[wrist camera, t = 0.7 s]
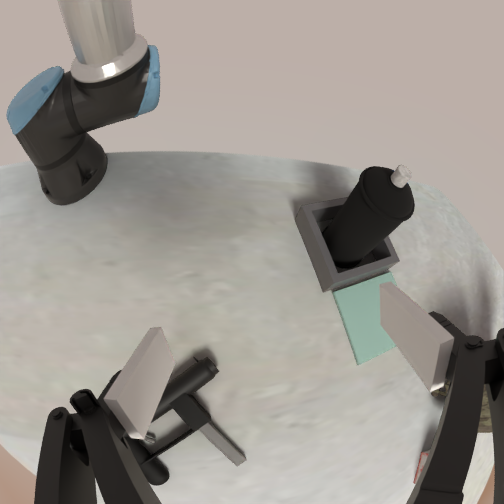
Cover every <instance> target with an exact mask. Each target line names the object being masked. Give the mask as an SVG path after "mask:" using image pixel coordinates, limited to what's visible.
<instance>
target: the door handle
mask: <svg viewBox="0 0 504 504" xmlns="http://www.w3.org/2000/svg"><path fill="white" fill-rule="evenodd" d="M194 359H195V360H196V358H195V357H194ZM196 361H197V360H196ZM218 372H219V370H218V369H217V368H216V367H215V365H214V364H213V363H212V362H211V361H210V360H209V359H208V357H207V358H205V359H204V360H200V361H197V363H196V364H194V365H193V366H192V367H190V368H189V369H188V370H186V371H185V372H184V373H182V374H181V375H180V376H178V377H177V378H176V379H174V380H173V381H172V382H170V383H169V384H167V385H166V387H165V390H164V392H163V394H162V397H161V399H160V402H159V404H158V406H157V409H156V411H155V414H154V416H153V419H152V421H151V423H152V422H153V421H155V420H156V419H158V418H159V417H161V416H162V415H164V414H165V413H167V412H168V411H169V410H171V409H172V408H173V409H174V410H175V411H176V413H177V414H178V415H179V416H180V417H181V418H182V419H183V420H184V421H185V423H186V424H187V425H188V426H189V427H190V428H191V429H190V430H189V431H187V432H186V433H184V434H183V435H181V436H180V437H178V438H177V439H175V440H174V441H172V442H171V443H169V444H168V445H166V446H165V447H163V448H161V449H160V450H158V451H157V452H155V453H153V454H152V455H151V454H150V453H149V452H148V451H147V450H146V449H145V448H144V447H143V446H142V445H141V444H140V442H139V441H138V440H137V439H135V438H131V437H130V436H129V435H128V433H127V432H126V431H125V433H124V435H123V437H124V438H125V439H126V441H127V443H128V445H129V447H130V449H131V451H132V453H133V455H134V457H135V459H136V461H137V463H138V465H139V467H140V468H141V470H142V472H143V474H144V476H145V477H146V479H147V481H148V482H149V483H150V484H152V485H162V484H164V483H165V482H167V480H168V479H169V473H168V471H167V470H165V469H164V468H163V467H162V466H161V465H160V464H159V463H158V462H157V461H156V460H155V459H154V458H155V457H157V456H158V455H160V454H162V453H163V452H165V451H166V450H168V449H170V448H171V447H173V446H174V445H176V444H177V443H179V442H180V441H182V440H183V439H185V438H186V437H188V436H189V435H191V434H192V433H194V432H195V431H197V430H198V429H199V430H200V431H201V432H202V433H203V434H204V435H205V436H206V437H207V438H208V439H209V440H210V441H211V442H212V443H213V444H214V445H215V446H216V447H217V448H218V449H219V450H220V451H221V452H222V453H223V454H224V455H225V456H226V457H227V458H228V459H230V460H231V461H232V462H233V463H234V464H235V465H236V466H239V465H240V464H242V463H243V462H244V461H246V457H245V456H244V455H243V454H242V453H241V452H240V451H239V450H238V449H237V448H236V447H235V446H234V445H232V444H231V443H230V442H229V441H228V440H227V439H226V438H225V437H224V436H223V435H222V433H221V432H220V431H219V430H218V429H217V428H216V427H215V426H214V425H213V424H212V423H211V422H210V421H211V416H210V415H209V414H208V413H207V412H206V411H205V409H204V408H203V407H202V406H201V405H200V404H199V403H198V402H197V400H196V399H195V398H194V397H193V396H192V394H193V393H194V392H196V391H197V390H198V389H200V388H201V387H202V386H204V385H205V384H206V383H208V382H209V381H210V380H212V379H213V378H214V376H215V374H217V373H218ZM144 440H146V441H149V442H151V443H155V442H156V439H152V438H149V437H147V436H145V438H144Z"/></svg>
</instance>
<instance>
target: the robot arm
mask: <svg viewBox="0 0 504 504" xmlns="http://www.w3.org/2000/svg"><path fill="white" fill-rule="evenodd" d="M58 3H59V7H60V10H61V13H62V16H63V20H64V23H65V26H66V29H67V32H68V35H69V38H70V41H71V44H72V46H73V49H74V52H75V54H76V58H75V59H74V61H73V63H72V65H71V71H69V72H67V73H64V69H62V68H61V67H60V66H56V67H51V68H49V69H47V70H45V71H43V72H42V73H40V74H39V75H37V76H36V77H35V78H33V79H32V80H31V81H30V82H28V83H27V84H26V85H25V86H24V87H23V88H22V89H21V90H20V91H19V92H18V93H17V95H16V96H15V97H14V99H13V100H12V101H11V103H10V105H9V107H8V110H7V120H8V122H9V124H10V127H11V129H12V132H13V134H14V135H15V136H16V137H17V139H18V141H19V142H20V144H21V145H22V147H23V149H24V150H25V152H26V153H27V155H28V156H29V158H30V159H31V161H32V162H33V163H34V165H35V166H36V168H37V171H38V175H39V179H40V183H41V187H42V190H43V192H44V194H45V195H46V197H47V198H48V199H49V200H50V201H51V202H52V203H54V204H57V205H67V204H71V203H74V202H76V201H78V200H80V199H82V198H84V197H85V196H86V195H88V194H89V193H90V192H91V191H92V190H93V189H94V188H95V187H96V186H97V185H98V184H99V182H100V181H101V179H102V178H103V176H104V174H105V171H106V168H107V157H106V155H105V153H104V150H103V148H102V147H101V145H99V144H98V143H97V142H96V141H95V140H94V139H93V138H92V137H91V136H90V135H89V134H88V133H87V132H88V131H91V130H94V129H97V128H100V127H103V126H106V125H110V124H113V123H116V122H119V121H123V120H126V119H130V118H135V117H137V116H138V115H141V114H144V113H147V112H150V111H152V110H154V109H155V108H156V106H157V105H158V102H159V96H160V76H159V72H160V64H159V54H158V49H157V47H156V46H154V45H152V46H151V45H148V44H147V41H146V39H145V38H144V37H143V36H141V35H139V34H136V33H135V29H134V22H133V13H132V5H131V0H58ZM379 291H380V325H381V326H382V327H383V329H384V330H385V331H386V333H387V334H388V335H389V337H390V338H391V339H392V340H393V342H394V343H395V344H396V346H397V347H398V348H399V350H400V351H401V353H402V354H403V355H404V357H405V358H406V359H407V361H408V362H409V363H410V365H411V366H412V368H413V369H414V370H415V372H416V373H417V375H418V376H419V377H420V379H421V380H422V382H423V383H424V384H425V386H426V387H427V389H428V390H429V392H432V391H434V390H436V389H439V388H441V387H443V386H444V382H445V378H446V377H447V378H448V380H449V381H450V384H449V387H448V391H447V394H446V397H445V398H446V400H445V404H444V408H443V412H442V415H441V419H440V422H439V425H438V429H437V432H436V435H435V438H434V441H433V443H432V446H431V449H430V452H429V454H428V457H427V460H426V462H425V465H424V467H423V469H422V472H421V474H420V476H419V478H418V481H417V483H416V485H415V487H414V489H413V491H412V493H411V495H410V497H409V499H408V501H407V503H406V504H462V501H463V497H464V494H463V493H462V489H463V486H464V483H465V480H466V477H467V473H468V470H469V466H470V463H471V459H472V455H473V451H474V447H475V442H476V438H477V433H478V427H479V421H480V415H481V408H482V400H483V391H484V385H485V387H486V392H487V397H488V403H489V409H490V415H491V423H492V432H493V443H494V461H495V485H494V486H495V488H494V503H493V504H504V328H502V329H500V330H499V331H498V334H497V337H496V339H494V340H490V341H484V340H483V339H482V338H480V337H478V336H473V335H472V336H466V335H465V334H463V333H462V332H461V331H460V330H459V329H458V328H457V327H455V326H454V325H453V324H452V323H451V322H450V321H449V320H448V321H447V319H446V318H445V317H444V316H443V315H441V314H439V313H436V312H434V311H433V312H431V313H427V312H426V311H425V310H423V309H422V308H421V307H420V306H419V305H418V304H417V303H415V302H414V301H413V300H412V299H411V298H410V297H409V296H407V295H406V294H405V293H404V292H403V291H401V290H400V289H399V288H398V287H397V286H396V285H394V284H393V283H392V282H391V281H390V282H386V283H382V284H379ZM175 364H176V362H175V359H174V357H173V355H172V352H171V350H170V348H169V345H168V343H167V340H166V338H165V335H164V333H163V330H162V328H161V327H156V328H150V329H149V331H148V332H147V334H146V335H145V337H144V338H143V340H142V341H141V343H140V344H139V345H138V347H137V348H136V350H135V351H134V353H133V354H132V356H131V357H130V359H129V360H128V362H127V363H126V365H125V366H124V368H123V369H122V370H120V371H118V372H117V373H116V374H115V375H114V376H113V377H112V378H111V380H110V381H109V383H108V384H107V386H106V388H105V389H104V390H103V392H102V393H101V395H100V396H99V398H98V399H96V398H95V396H94V394H93V393H92V391H91V390H89V389H83V390H79V391H78V392H76V393H75V394H73V395H72V397H71V398H70V403H71V405H72V406H73V408H74V409H75V410H76V412H77V413H74V414H70V413H69V412H68V410H67V409H66V408H64V407H58V408H55V409H53V410H52V411H51V412H50V414H49V416H48V419H47V423H46V427H45V432H44V436H43V441H42V446H41V452H40V458H39V464H38V471H37V479H36V489H35V501H34V504H97V498H96V485H95V478H96V481H97V483H98V486H99V489H100V492H101V494H102V497H103V499H104V502H105V504H161V502H160V500H159V499H158V497H157V496H156V494H155V493H154V491H153V489H152V488H151V486H150V484H149V483H148V481H147V479H146V477H145V476H144V474H143V472H142V470H141V468H140V467H139V465H138V463H137V461H136V459H135V457H134V455H133V453H132V451H131V449H130V447H129V445H128V443H127V441H126V439H125V438H124V437H123V435H124V433H125V431H126V432H127V433H128V435H129V436H130V437H131V438H135V439H144V438H145V436H146V433H147V431H148V428H149V426H150V424H151V421H152V419H153V416H154V414H155V411H156V409H157V406H158V404H159V402H160V399H161V397H162V394H163V392H164V390H165V387H166V385H167V383H168V380H169V378H170V375H171V373H172V371H173V368H174V366H175Z"/></svg>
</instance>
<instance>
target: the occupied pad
mask: <svg viewBox="0 0 504 504" xmlns="http://www.w3.org/2000/svg"><path fill="white" fill-rule="evenodd" d="M390 281H391V282H392V283H393V284H394V285H396V282H395V280H394V277H393V275H392V273H391V272H389V273H386V274H383V275H381V276H378V277H375V278H373V279H370V280H367V281H364V282H361V283H359V284H356V285H353V286H350V287H347V288H344V289H341V290H338V291H335V292H333V296H334V299H335V301H336V304H337V307H338V310H339V312H340V315H341V318H342V321H343V324H344V327H345V329H346V332H347V335H348V338H349V341H350V344H351V347H352V350H353V353H354V356H355V359H356V362H357V365H360V364H362V363H364V362H366V361H368V360H370V359H372V358H374V357H376V356H378V355H380V354H382V353H384V352H386V351H388V350H390V349H392V348H393V347H395V346H396V344H395V343H394V342H393V340H392V339H391V338H390V337H389V335H388V334H387V333H386V331H385V330H384V329H383V327H382V326H381V325H380V291H379V284H382V283H386V282H390ZM396 286H397V285H396Z"/></svg>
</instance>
